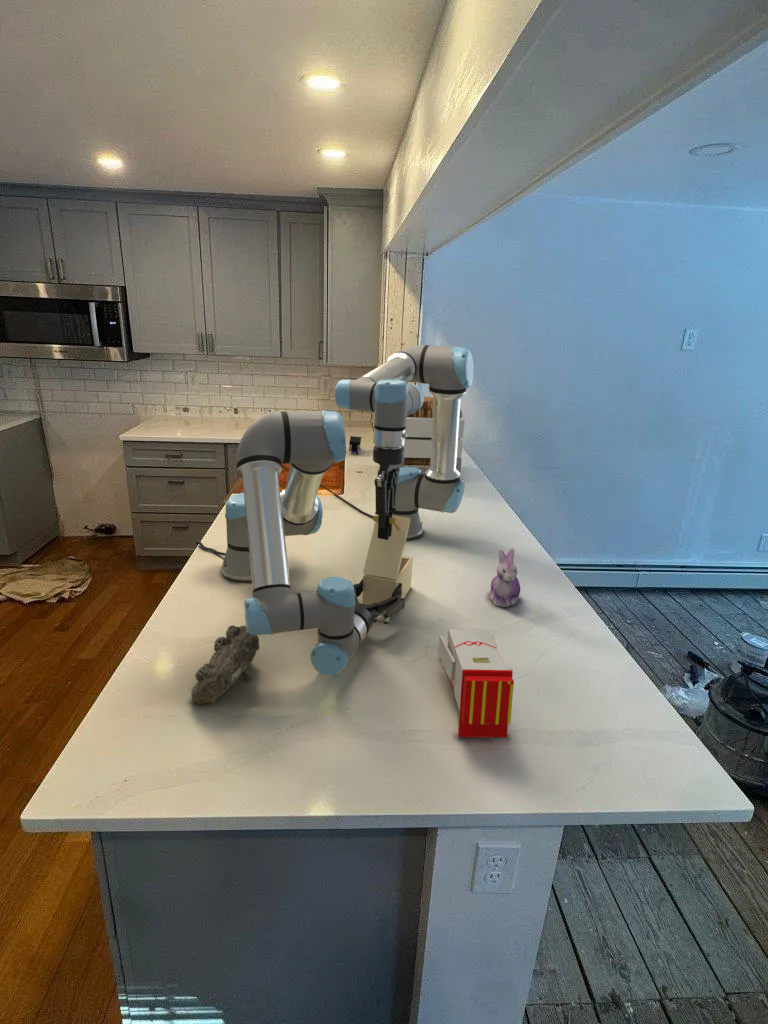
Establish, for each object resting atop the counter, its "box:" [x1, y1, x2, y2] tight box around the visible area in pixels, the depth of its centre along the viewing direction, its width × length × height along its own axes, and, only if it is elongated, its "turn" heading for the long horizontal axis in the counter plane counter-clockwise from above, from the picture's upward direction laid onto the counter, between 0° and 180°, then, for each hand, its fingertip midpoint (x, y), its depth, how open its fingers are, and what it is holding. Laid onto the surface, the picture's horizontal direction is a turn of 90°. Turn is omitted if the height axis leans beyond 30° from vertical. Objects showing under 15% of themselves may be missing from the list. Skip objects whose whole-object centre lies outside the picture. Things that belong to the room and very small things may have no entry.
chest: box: [361, 555, 413, 605], centre depth 154 cm, size 16×9×9 cm, turn 162°
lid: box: [362, 514, 410, 580], centre depth 144 cm, size 17×9×8 cm
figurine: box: [489, 547, 521, 608], centre depth 154 cm, size 9×10×15 cm
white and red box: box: [437, 628, 515, 738], centre depth 117 cm, size 12×13×30 cm
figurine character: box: [348, 435, 362, 455], centre depth 308 cm, size 7×8×15 cm
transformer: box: [396, 396, 465, 475], centre depth 268 cm, size 34×33×41 cm
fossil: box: [191, 624, 260, 705], centre depth 119 cm, size 22×10×15 cm
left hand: (382, 584), depth 149 cm, fingers closed on chest, 9 cm apart
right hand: (384, 536), depth 144 cm, fingers closed on lid, 2 cm apart
